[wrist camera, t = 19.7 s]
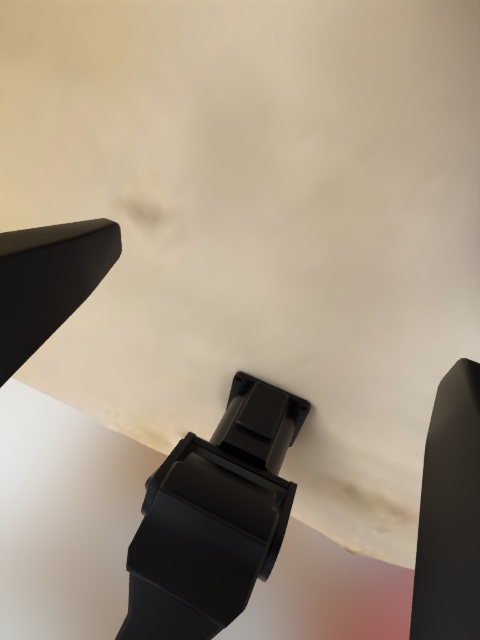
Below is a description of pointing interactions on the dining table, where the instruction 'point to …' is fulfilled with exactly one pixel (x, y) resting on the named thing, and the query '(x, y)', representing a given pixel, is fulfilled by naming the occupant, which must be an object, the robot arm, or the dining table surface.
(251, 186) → the dining table surface
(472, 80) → the dining table surface
